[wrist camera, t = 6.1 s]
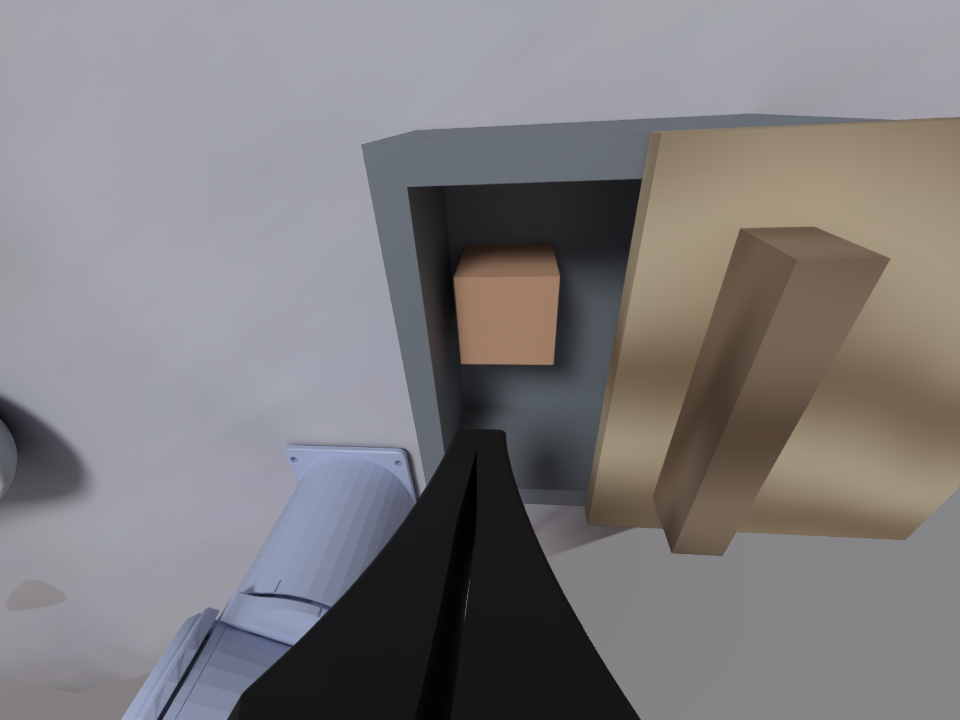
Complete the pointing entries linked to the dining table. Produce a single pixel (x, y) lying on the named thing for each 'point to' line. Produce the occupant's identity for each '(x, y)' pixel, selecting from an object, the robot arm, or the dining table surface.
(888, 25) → the dining table surface
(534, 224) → the box
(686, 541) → the lid
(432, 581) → the robot arm
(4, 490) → the spoon rest
